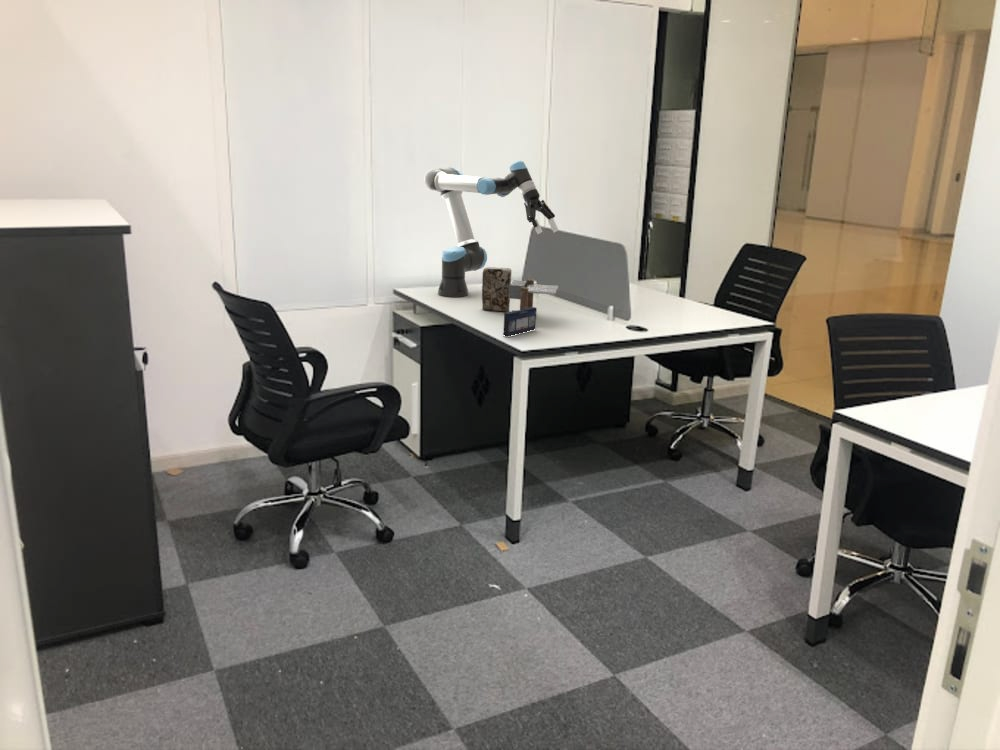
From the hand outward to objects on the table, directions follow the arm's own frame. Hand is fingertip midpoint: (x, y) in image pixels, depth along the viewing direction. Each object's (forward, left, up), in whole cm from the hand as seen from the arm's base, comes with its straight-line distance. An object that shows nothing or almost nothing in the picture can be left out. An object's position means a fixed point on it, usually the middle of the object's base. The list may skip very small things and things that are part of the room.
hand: (548, 232), depth 376 cm
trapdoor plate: (-2, -29, -25) cm, 39 cm away
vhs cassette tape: (-4, -56, -36) cm, 67 cm away
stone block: (-21, -17, -36) cm, 45 cm away
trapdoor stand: (-7, -29, -35) cm, 47 cm away
